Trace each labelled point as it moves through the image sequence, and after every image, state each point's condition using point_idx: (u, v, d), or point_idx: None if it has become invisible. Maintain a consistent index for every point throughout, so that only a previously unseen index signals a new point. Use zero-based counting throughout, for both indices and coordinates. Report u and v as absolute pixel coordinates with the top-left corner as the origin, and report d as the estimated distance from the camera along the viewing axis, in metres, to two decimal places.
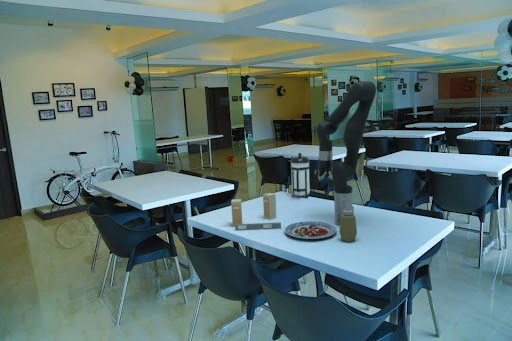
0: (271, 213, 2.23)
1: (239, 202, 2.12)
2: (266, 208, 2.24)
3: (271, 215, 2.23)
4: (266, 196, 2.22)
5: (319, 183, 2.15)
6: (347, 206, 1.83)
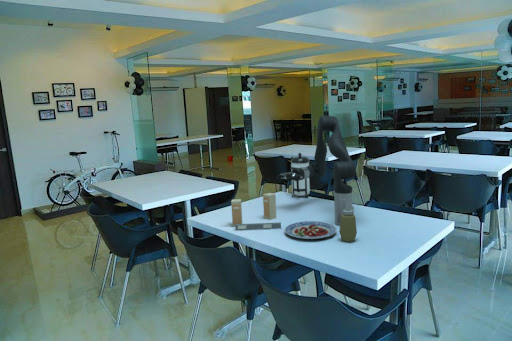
0: (271, 213, 2.23)
1: (239, 202, 2.12)
2: (266, 208, 2.24)
3: (271, 215, 2.23)
4: (266, 196, 2.22)
5: (280, 175, 2.35)
6: (347, 206, 1.83)
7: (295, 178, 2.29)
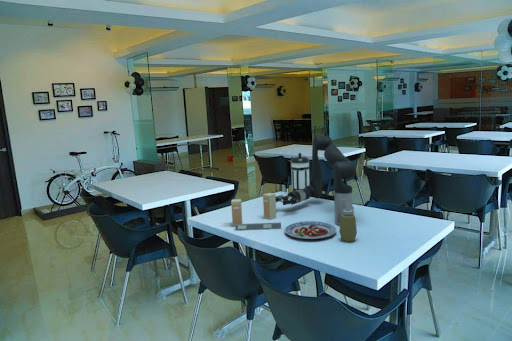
0: (271, 213, 2.23)
1: (239, 202, 2.12)
2: (266, 208, 2.24)
3: (271, 215, 2.23)
4: (266, 196, 2.22)
5: (276, 198, 2.35)
6: (347, 206, 1.83)
7: (291, 202, 2.28)
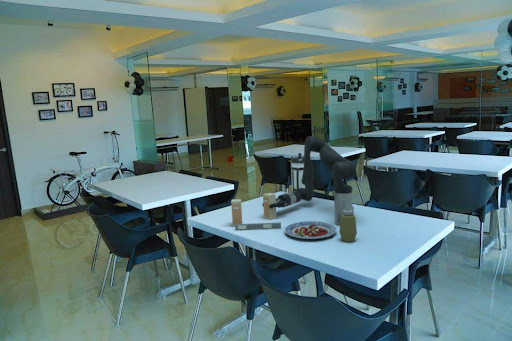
0: (271, 213, 2.23)
1: (239, 202, 2.12)
2: (266, 208, 2.24)
3: (271, 215, 2.23)
4: (266, 196, 2.22)
5: None
6: (347, 206, 1.83)
7: (277, 205, 2.23)
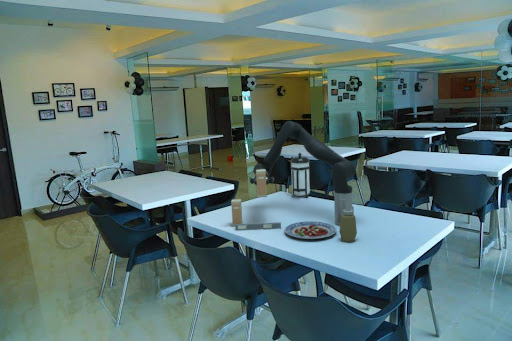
0: (266, 190, 2.10)
1: (239, 202, 2.12)
2: (261, 185, 2.08)
3: (266, 192, 2.10)
4: (261, 172, 2.07)
5: (255, 180, 2.11)
6: (347, 206, 1.83)
7: (270, 180, 2.12)
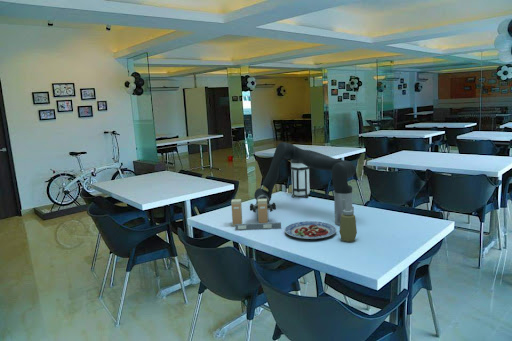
0: (267, 219, 2.13)
1: (239, 202, 2.12)
2: (262, 215, 2.11)
3: (267, 221, 2.13)
4: (262, 202, 2.10)
5: (254, 207, 2.14)
6: (347, 206, 1.83)
7: (274, 207, 2.15)
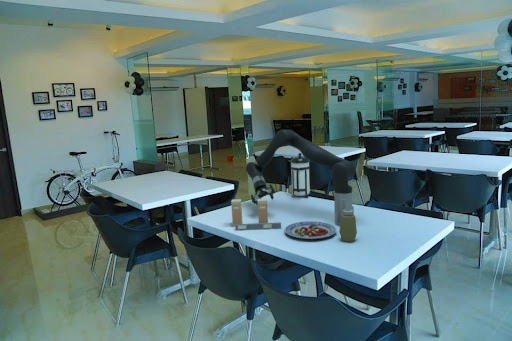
0: (267, 219, 2.13)
1: (239, 202, 2.12)
2: (262, 215, 2.11)
3: (267, 221, 2.13)
4: (262, 202, 2.10)
5: (256, 201, 2.25)
6: (347, 206, 1.83)
7: (273, 191, 2.25)
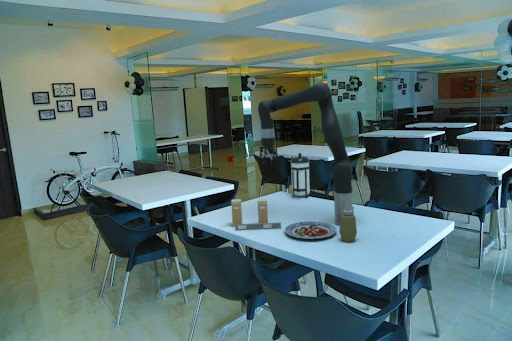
0: (267, 219, 2.13)
1: (239, 202, 2.12)
2: (262, 215, 2.11)
3: (267, 221, 2.13)
4: (262, 202, 2.10)
5: (262, 159, 2.27)
6: (347, 206, 1.83)
7: (275, 158, 2.18)
